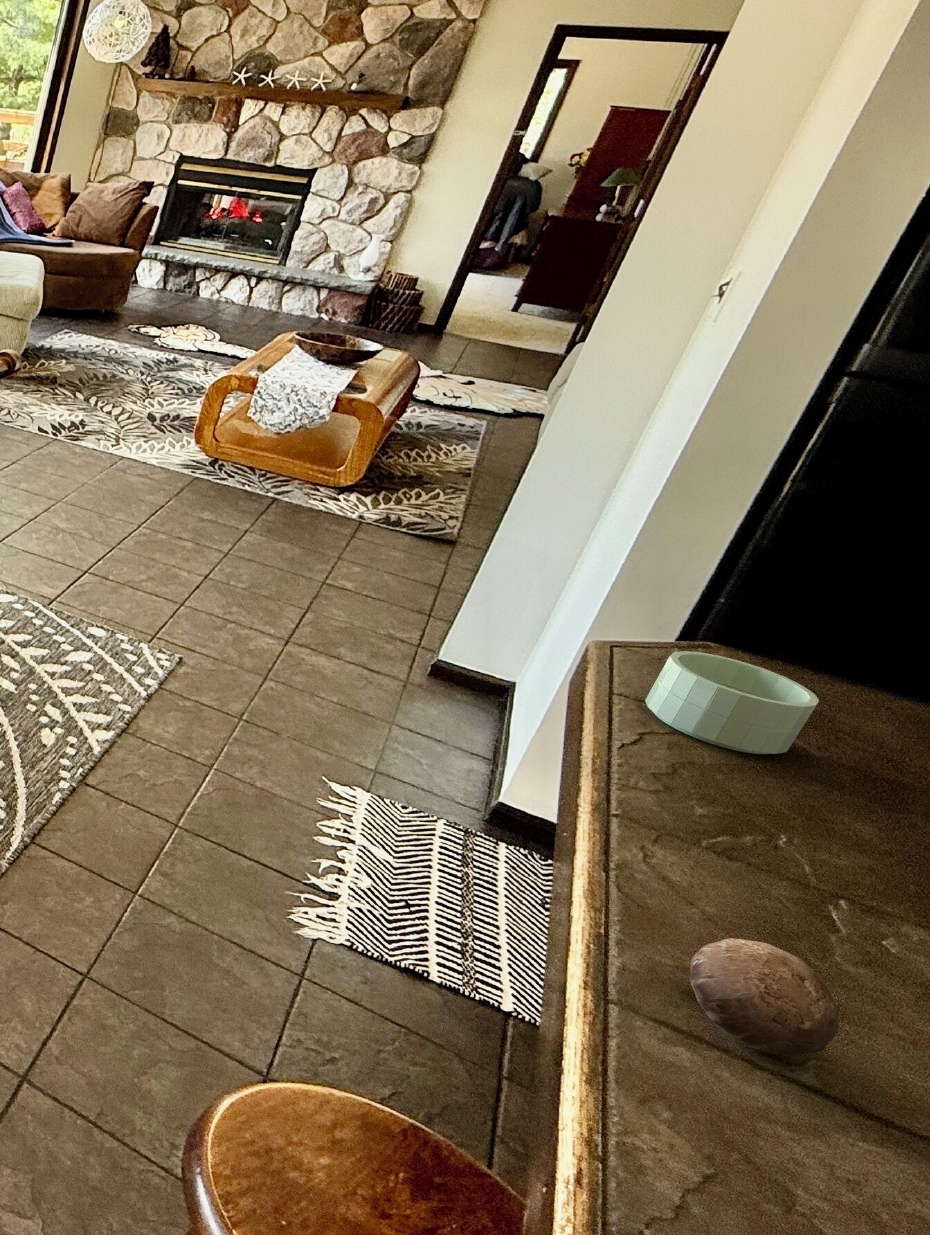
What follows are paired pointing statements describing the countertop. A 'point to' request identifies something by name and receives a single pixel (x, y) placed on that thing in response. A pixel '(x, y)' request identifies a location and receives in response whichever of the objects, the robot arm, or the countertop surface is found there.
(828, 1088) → the countertop surface
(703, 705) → the bowl
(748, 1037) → the mushroom
